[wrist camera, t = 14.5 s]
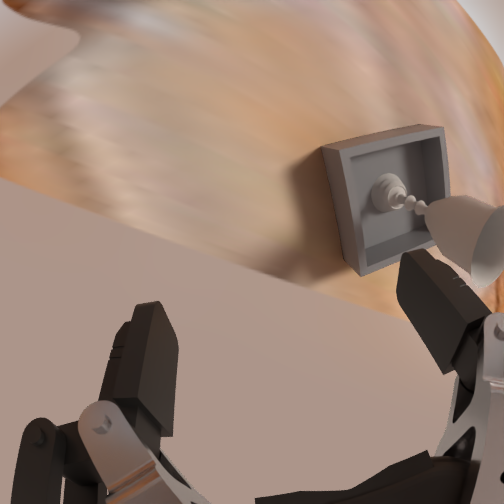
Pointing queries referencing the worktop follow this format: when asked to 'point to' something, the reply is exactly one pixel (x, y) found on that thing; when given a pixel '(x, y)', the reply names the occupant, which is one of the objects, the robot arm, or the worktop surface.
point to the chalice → (453, 227)
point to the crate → (360, 187)
